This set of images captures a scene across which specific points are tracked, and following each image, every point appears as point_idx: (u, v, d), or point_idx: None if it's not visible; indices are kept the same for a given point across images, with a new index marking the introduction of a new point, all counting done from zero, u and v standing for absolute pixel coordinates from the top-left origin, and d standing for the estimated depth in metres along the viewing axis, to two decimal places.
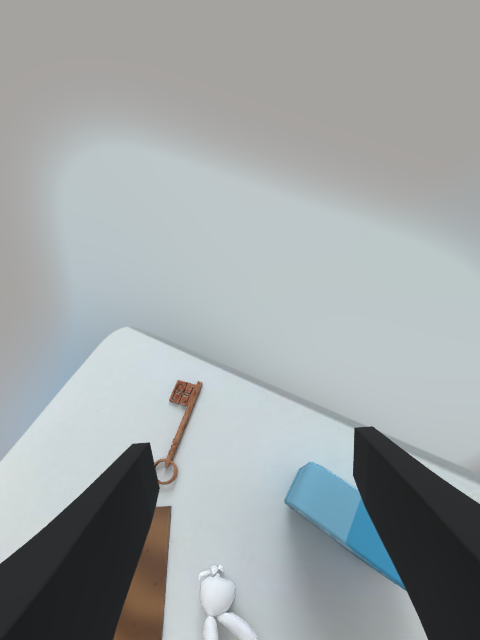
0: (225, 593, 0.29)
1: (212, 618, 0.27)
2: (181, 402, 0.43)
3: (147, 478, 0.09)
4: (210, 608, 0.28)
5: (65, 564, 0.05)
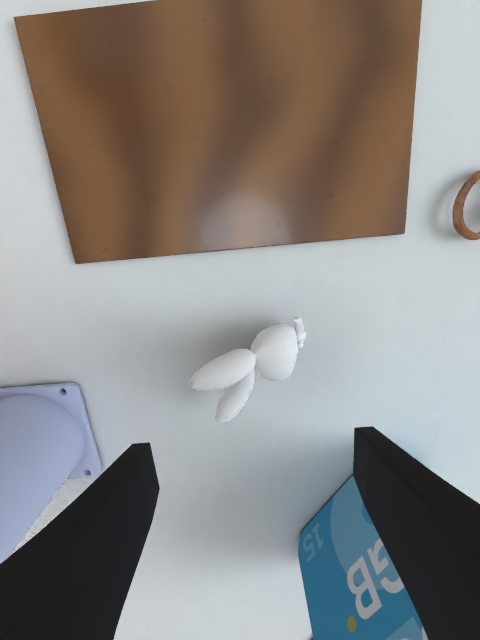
0: (281, 376, 0.16)
1: (254, 365, 0.15)
2: None
3: (147, 478, 0.09)
4: (264, 356, 0.15)
5: (65, 564, 0.05)
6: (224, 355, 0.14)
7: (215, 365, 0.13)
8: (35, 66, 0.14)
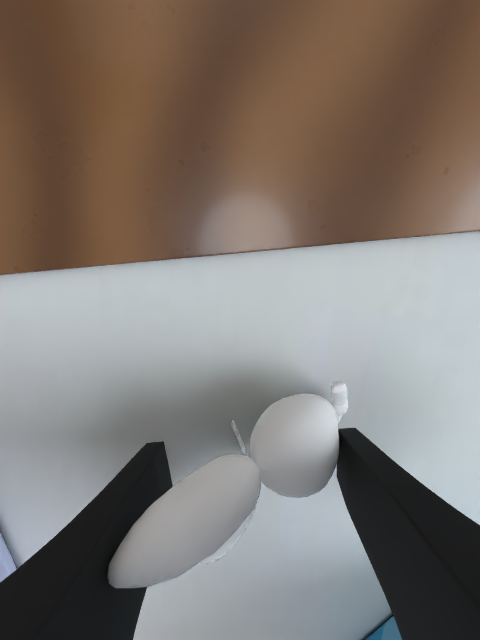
0: (310, 494, 0.08)
1: None
2: None
3: (162, 477, 0.09)
4: (278, 469, 0.08)
5: (90, 563, 0.05)
6: (195, 478, 0.07)
7: (173, 515, 0.06)
8: None
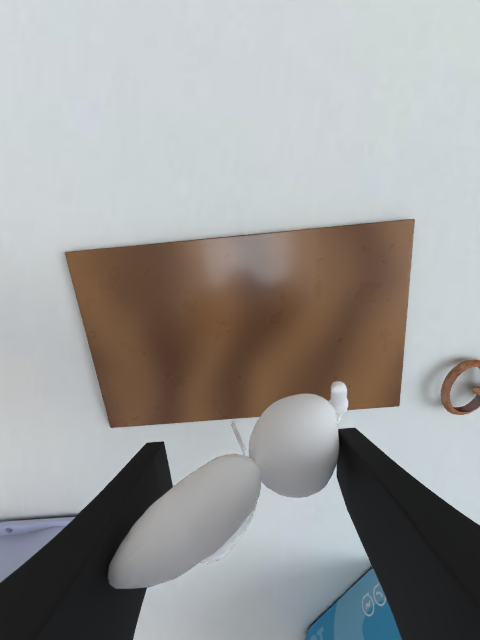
0: (310, 494, 0.08)
1: None
2: None
3: (162, 477, 0.09)
4: (278, 469, 0.08)
5: (90, 563, 0.05)
6: (195, 478, 0.07)
7: (173, 515, 0.06)
8: (82, 286, 0.16)
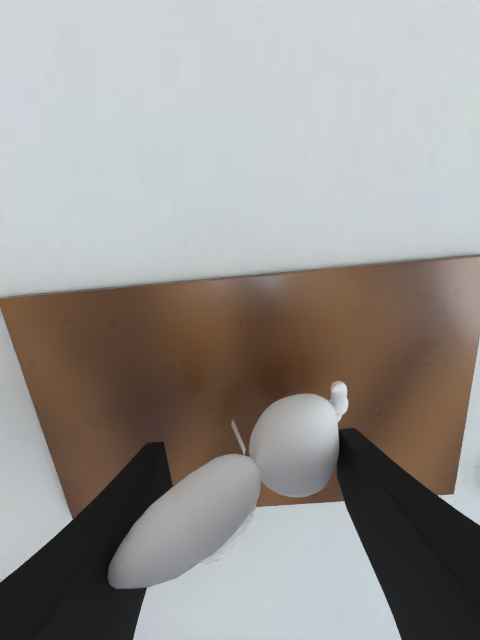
0: (310, 494, 0.08)
1: None
2: None
3: (162, 477, 0.09)
4: (278, 469, 0.08)
5: (90, 563, 0.05)
6: (195, 478, 0.07)
7: (173, 515, 0.06)
8: (24, 344, 0.12)
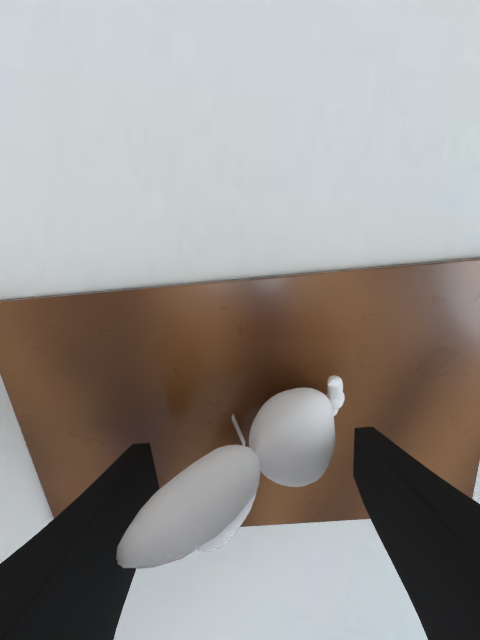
0: (307, 483, 0.09)
1: None
2: None
3: (147, 478, 0.09)
4: (277, 459, 0.08)
5: (65, 564, 0.05)
6: (197, 466, 0.07)
7: (177, 500, 0.06)
8: (5, 353, 0.11)
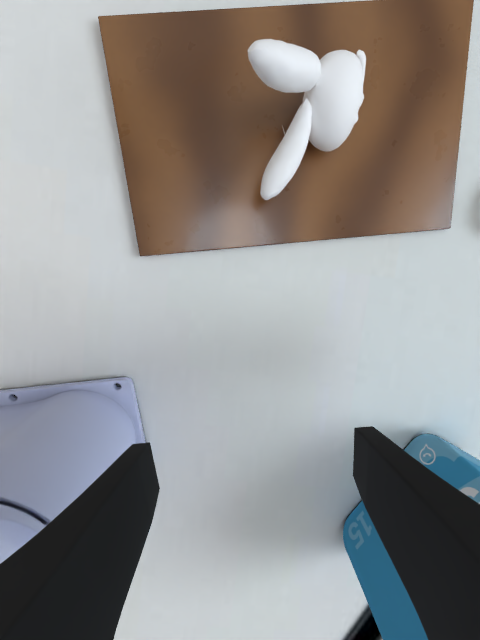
0: (345, 116, 0.13)
1: (319, 76, 0.12)
2: None
3: (147, 478, 0.09)
4: (329, 73, 0.12)
5: (65, 564, 0.05)
6: None
7: None
8: (116, 63, 0.14)
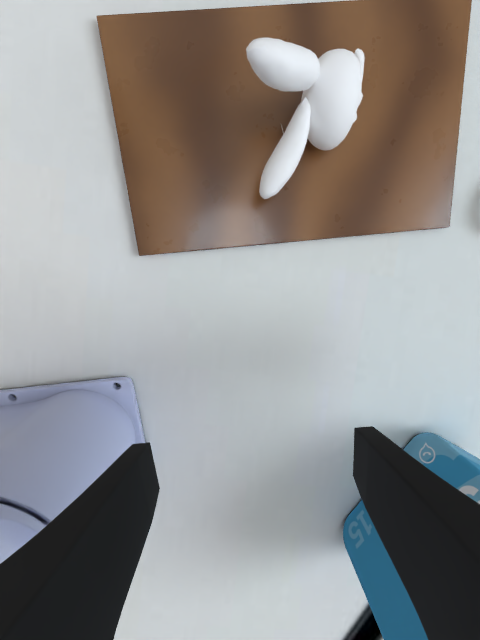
0: (344, 115, 0.13)
1: (318, 75, 0.12)
2: None
3: (147, 478, 0.09)
4: (328, 72, 0.12)
5: (65, 564, 0.05)
6: None
7: None
8: (114, 62, 0.14)
